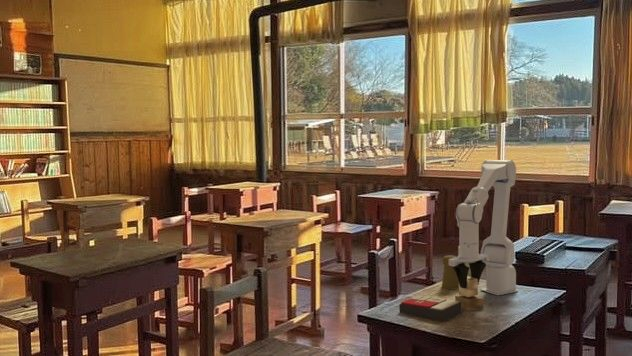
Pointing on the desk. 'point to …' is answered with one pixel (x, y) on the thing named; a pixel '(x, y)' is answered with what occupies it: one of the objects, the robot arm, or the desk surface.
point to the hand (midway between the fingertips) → (469, 286)
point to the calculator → (431, 308)
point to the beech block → (469, 287)
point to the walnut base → (470, 302)
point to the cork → (449, 275)
